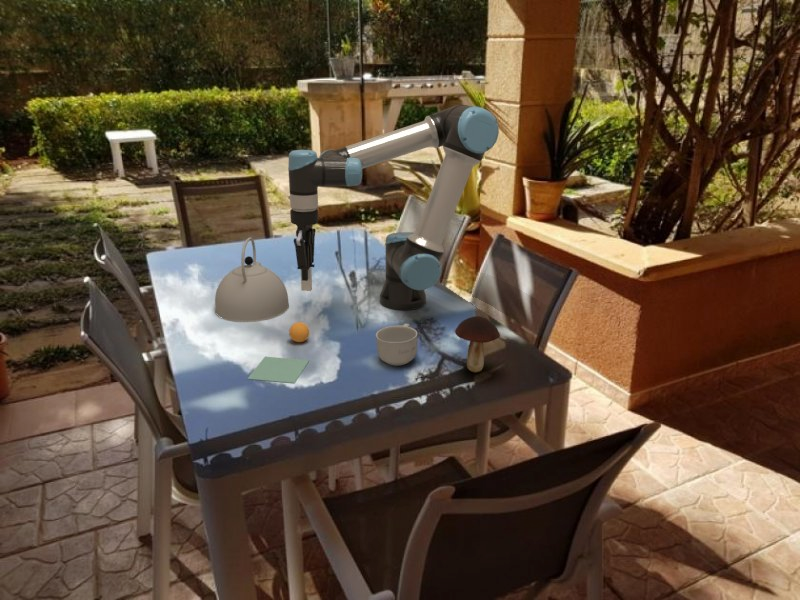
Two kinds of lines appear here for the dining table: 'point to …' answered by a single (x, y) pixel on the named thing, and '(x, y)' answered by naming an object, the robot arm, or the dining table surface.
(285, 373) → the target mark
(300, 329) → the ball
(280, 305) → the kettle
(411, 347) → the teacup
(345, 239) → the dining table surface
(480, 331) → the decorative mushroom
